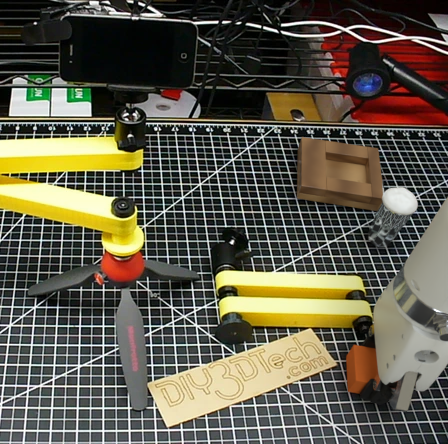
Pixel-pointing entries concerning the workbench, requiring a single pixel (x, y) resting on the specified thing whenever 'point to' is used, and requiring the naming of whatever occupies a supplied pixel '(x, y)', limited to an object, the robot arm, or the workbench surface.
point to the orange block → (360, 367)
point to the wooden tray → (339, 174)
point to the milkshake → (391, 215)
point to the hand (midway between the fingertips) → (371, 376)
